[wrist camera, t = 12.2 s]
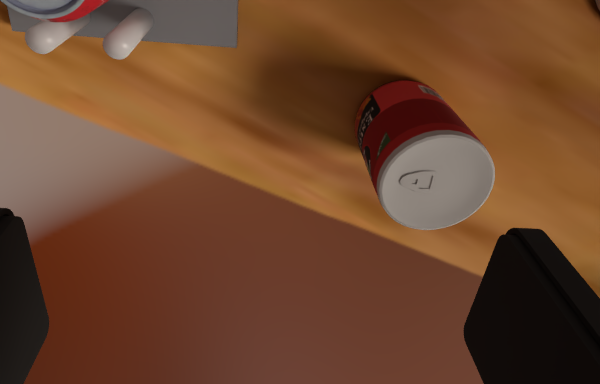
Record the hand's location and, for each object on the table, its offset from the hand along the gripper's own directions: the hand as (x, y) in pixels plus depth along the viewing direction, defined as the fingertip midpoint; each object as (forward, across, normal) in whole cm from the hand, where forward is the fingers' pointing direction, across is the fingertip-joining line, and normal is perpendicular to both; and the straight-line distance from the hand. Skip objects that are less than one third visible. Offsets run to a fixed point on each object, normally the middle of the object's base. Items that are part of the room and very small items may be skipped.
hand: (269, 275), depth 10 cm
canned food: (+31, -12, +9) cm, 34 cm away
